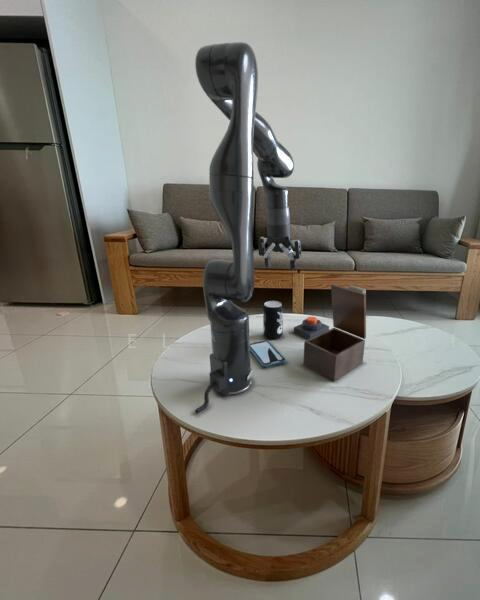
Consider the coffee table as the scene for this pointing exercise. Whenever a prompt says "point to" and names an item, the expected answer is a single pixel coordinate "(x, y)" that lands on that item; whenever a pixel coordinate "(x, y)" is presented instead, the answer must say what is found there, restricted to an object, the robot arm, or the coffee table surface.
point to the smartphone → (266, 353)
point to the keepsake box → (333, 353)
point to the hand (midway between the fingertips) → (280, 268)
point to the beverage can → (273, 320)
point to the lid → (349, 309)
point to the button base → (310, 329)
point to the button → (311, 320)
